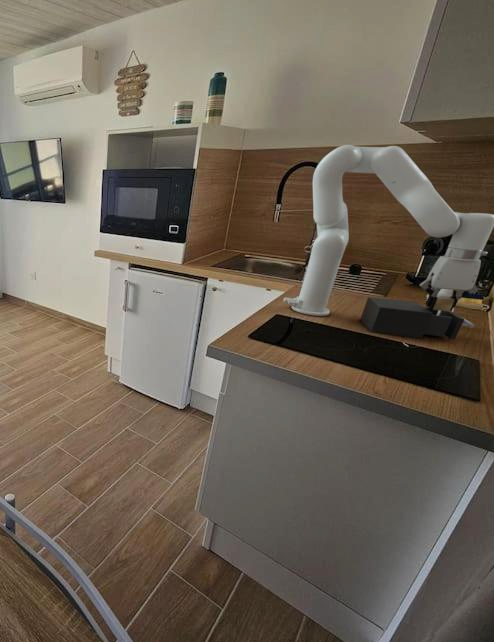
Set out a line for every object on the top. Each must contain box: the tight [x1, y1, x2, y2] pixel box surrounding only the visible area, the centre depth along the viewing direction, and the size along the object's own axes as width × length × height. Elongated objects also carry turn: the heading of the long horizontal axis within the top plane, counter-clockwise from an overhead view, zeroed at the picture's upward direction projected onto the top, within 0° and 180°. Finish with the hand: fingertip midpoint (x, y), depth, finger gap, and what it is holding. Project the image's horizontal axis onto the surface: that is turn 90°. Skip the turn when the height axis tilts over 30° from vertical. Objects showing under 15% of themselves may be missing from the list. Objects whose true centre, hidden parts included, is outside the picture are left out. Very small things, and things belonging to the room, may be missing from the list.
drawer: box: [423, 306, 475, 340], centre depth 125 cm, size 17×11×7 cm, turn 66°
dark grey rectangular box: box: [359, 296, 433, 339], centre depth 129 cm, size 14×12×9 cm
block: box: [433, 296, 454, 311], centre depth 123 cm, size 4×4×4 cm
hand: (438, 307), depth 124 cm, fingers closed on block, 4 cm apart
